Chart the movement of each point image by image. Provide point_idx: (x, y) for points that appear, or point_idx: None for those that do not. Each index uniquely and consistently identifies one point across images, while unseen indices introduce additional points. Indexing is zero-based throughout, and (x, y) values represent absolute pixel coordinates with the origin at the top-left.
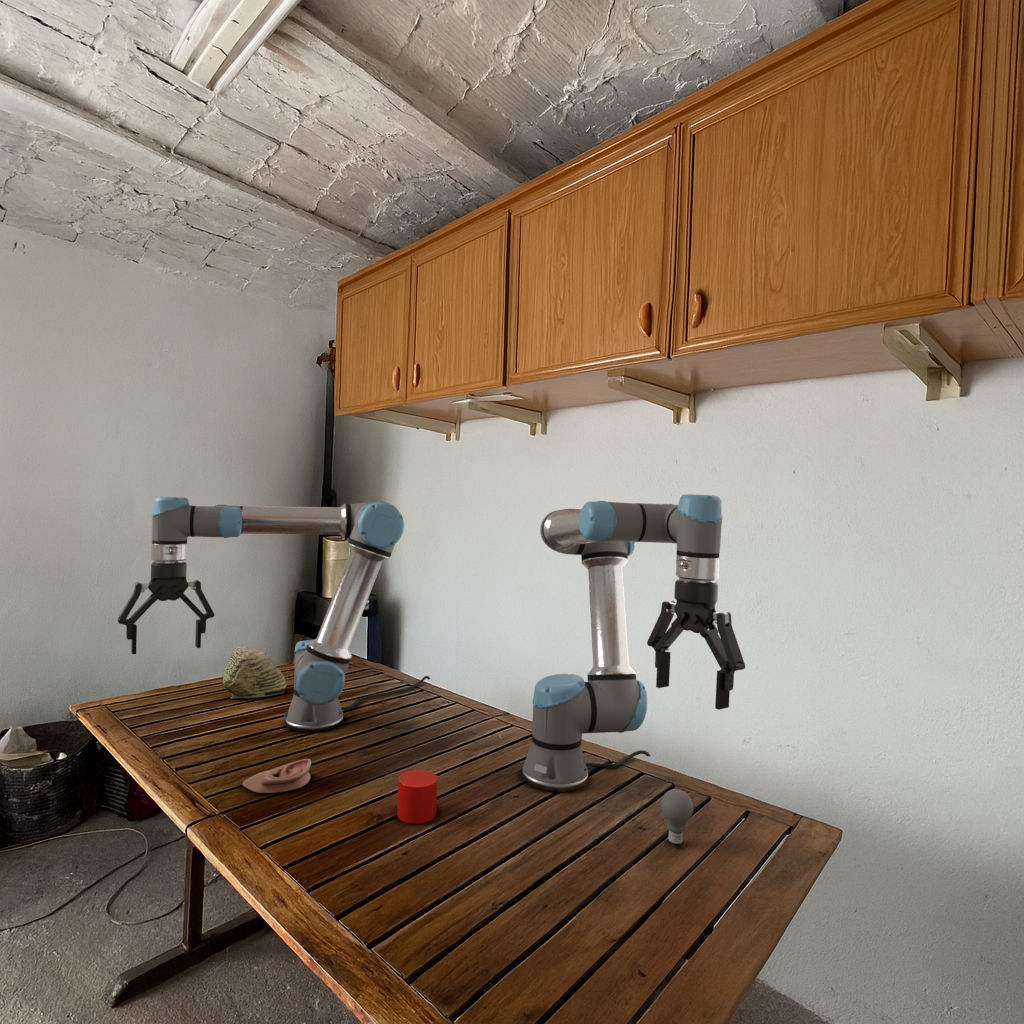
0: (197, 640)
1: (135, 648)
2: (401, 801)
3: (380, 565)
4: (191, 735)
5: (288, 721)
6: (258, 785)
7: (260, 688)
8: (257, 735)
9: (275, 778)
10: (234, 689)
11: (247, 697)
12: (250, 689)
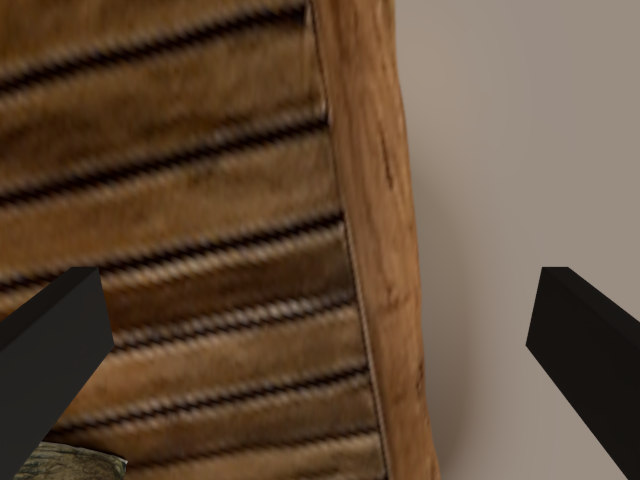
0: (61, 301)
1: (573, 288)
2: None
3: None
4: (240, 256)
5: None
6: None
7: (36, 462)
8: (68, 171)
9: None
10: (104, 471)
11: (83, 449)
12: (64, 464)
